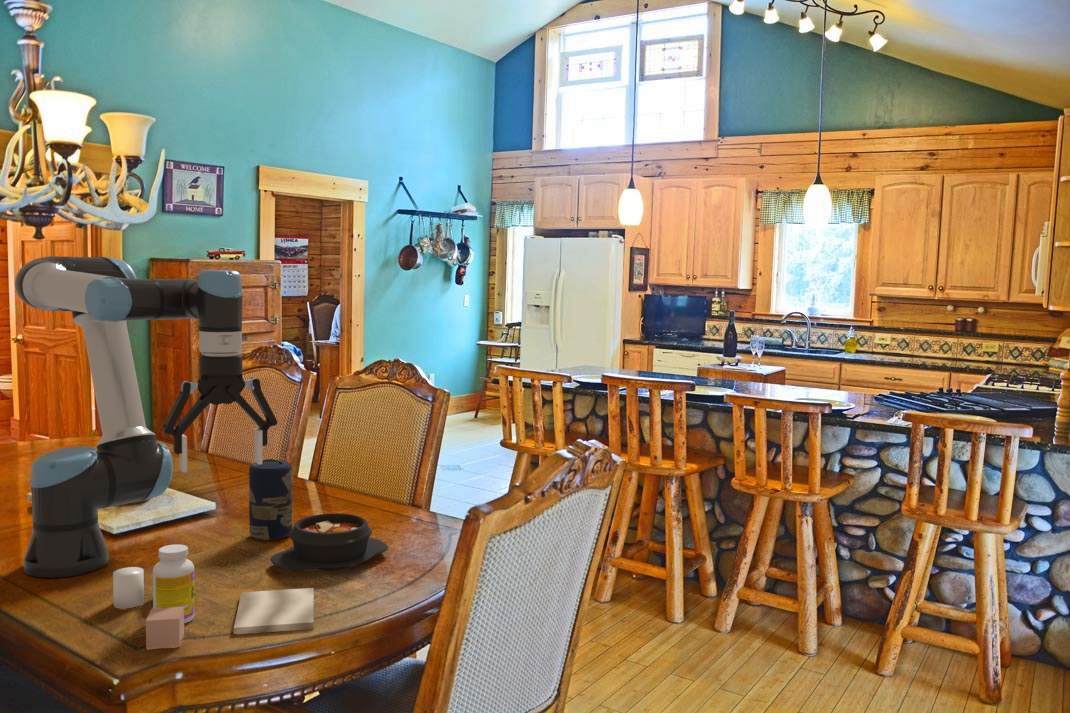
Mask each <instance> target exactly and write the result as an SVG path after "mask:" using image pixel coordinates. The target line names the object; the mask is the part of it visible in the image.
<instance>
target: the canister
mask: <svg viewBox="0 0 1070 713" xmlns="http://www.w3.org/2000/svg"><path fill="white" fill-rule="evenodd" d="M248 482H249V483H248V490H249V492H248V494H249V495H248V496H249V498H248V499H249V501H248V515H249V516H248V517H249V518H248V519H249V520H248V521H249V533H250V536H251V537H253V538H254V539H257V540H263V541H271V540H272V541H273V540H279V539H282V538H286V537H288V536H289V533H290V532H291V531H292V530H293V527H294V525H293V517H294V516H293V498H294V496H293V494H294V493H293V491H294V490H293V484H294V483H293V466H292V464H291V462H289V461H286V460H280V459H274V458H268V459H263V464H259V465H258V464H257V463H256V462H254V463H251V465H249V468H248Z"/></svg>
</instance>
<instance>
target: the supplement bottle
mask: <svg viewBox="0 0 1070 713" xmlns="http://www.w3.org/2000/svg"><path fill="white" fill-rule="evenodd" d="M188 555H189V547H188V546H187V545H184V544H169V545H164V546H162V547H160V548H158V559H159V562H157V563H155V565H154V566H153V568H152V605H153V606H152V609H153V608H169V607H184V623H185V624H188V623H189V622H191V621H192V620H193V619H194V618H195V614H196V612H195V611H196V610H195V609H196V608H195V606H196V603H195V599H196V598H195V599H194V567H195V565H194V563H193V562H192V561H191V560H190V559H188V558H187V557H188ZM187 622H188V623H187Z"/></svg>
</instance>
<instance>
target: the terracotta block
mask: <svg viewBox="0 0 1070 713" xmlns="http://www.w3.org/2000/svg"><path fill="white" fill-rule="evenodd" d="M183 635H184V636H185V624H184V607H169V608H153V607H152V608H151V609H150V611H149V614H148V616H147V617H146V620H145V642H146V643H145V648H150V647H151V648H153V647H163V646H171V645H174V646H175V645H180V643H181V640H182V637H183ZM183 638H184V637H183ZM182 641H183V640H182ZM181 644H182V643H181ZM180 646H181V645H180Z"/></svg>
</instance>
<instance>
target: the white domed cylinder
mask: <svg viewBox="0 0 1070 713" xmlns="http://www.w3.org/2000/svg"><path fill="white" fill-rule="evenodd" d="M144 572H145V571H144V568H143V567H139V566H128V567H123V568H118V569H117V570H114V571H113V572H112V584H113V586H112V589H113V590H112V592H113V608H115V607H116V608H115V609H117V608H123V609H122V610H125V609H124V608H132V607H136V606H139V605H141V604H142V605H144V604H145V585H144V583H145V581H144V580H145V579H144V576H145V575H144ZM142 605H141V606H142ZM139 607H140V606H139ZM136 608H137V607H136ZM132 609H133V608H132Z"/></svg>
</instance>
